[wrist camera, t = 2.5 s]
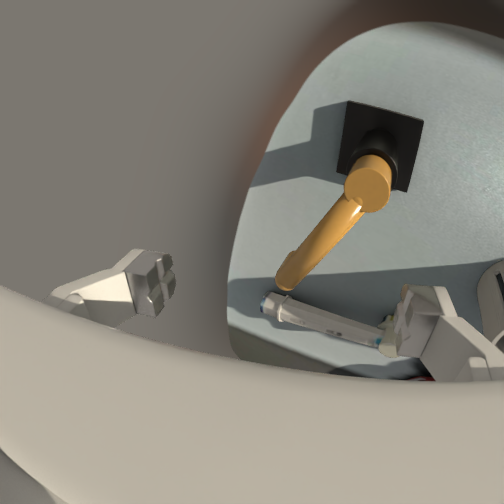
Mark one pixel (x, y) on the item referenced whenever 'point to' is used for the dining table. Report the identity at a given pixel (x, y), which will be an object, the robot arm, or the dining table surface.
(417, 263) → the dining table surface
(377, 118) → the tap base
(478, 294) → the cup
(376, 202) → the spout
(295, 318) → the white elongated capped device
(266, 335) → the dining table surface
